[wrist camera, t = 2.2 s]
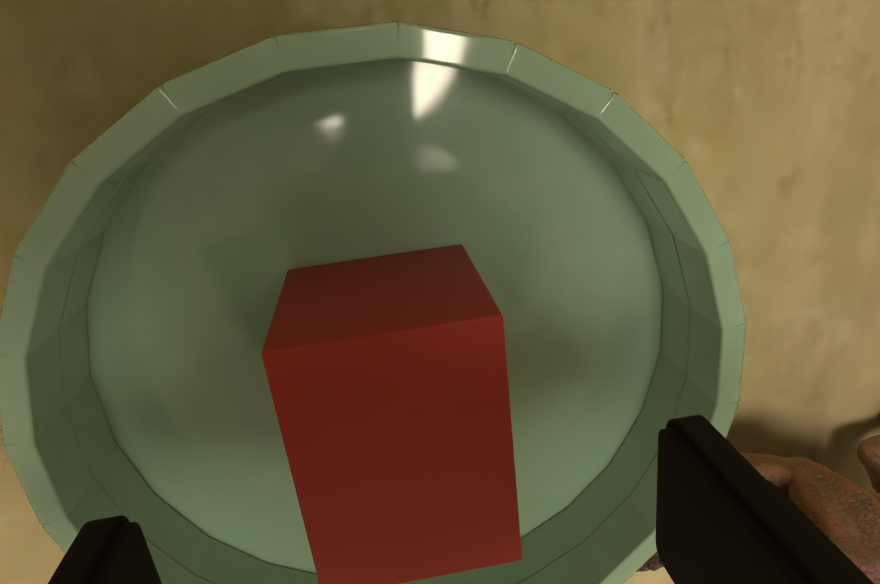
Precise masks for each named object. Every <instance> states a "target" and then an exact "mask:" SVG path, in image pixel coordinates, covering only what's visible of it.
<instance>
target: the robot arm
mask: <svg viewBox="0 0 880 584" xmlns="http://www.w3.org/2000/svg"><path fill="white" fill-rule="evenodd" d="M656 548H657V552H658V555H659V558H660V560H661V562H662V564H663V565H664V567H665V569H666V570H667V572H668V574H669V575H670V577H671V579H672V580H673V582H674V583H675V584H874V583H873V582H872V581H871V580H870V579H869V578H868V577H867V576H866V575H865V574H864V573H863V572H862V571H861V570H860V569H859V568H858V567H857V566H856V565H855V564H854V563H853V562H852V561H851V560H850V559H849V558H848V557H847V556H846V555H845V554H844V553H843V552H842V551H841V550H840V549H839V548H838V547H837V546H836V545H835V544H834V543H833V542H832V541H831V540H830V539H829V538H828V537H827V536H826V535H825V534H824V533H823V532H822V531H821V530H820V529H819V528H818V527H817V526H816V525H815V524H814V523H813V522H812V521H811V520H810V519H809V518H808V517H807V516H806V515H805V514H804V513H803V512H802V511H801V510H800V509H799V508H798V507H797V506H796V505H795V504H794V503H793V502H792V501H791V500H790V499H789V498H788V497H787V496H786V495H785V494H784V493H783V492H782V491H781V490H780V489H779V488H778V487H777V486H776V485H775V484H773V483H772V482H771V481H768V480H766V479H765V478H764V477H763V476H762V475H761V474H760V473H759V472H758V471H757V470H756V469H755V468H754V467H753V466H752V465H751V464H750V463H749V462H748V461H747V460H746V459H745V458H744V457H743V456H742V455H741V454H740V453H739V452H738V451H737V450H736V449H735V448H734V447H733V446H732V445H731V444H730V443H729V442H728V441H727V440H726V439H725V438H724V436H723V435H722V434H721V433H720V432H719V431H718V430H717V429H716V428H715V427H714V426H713V425H712V424H711V423H710V422H709V421H708V420H707V419H706V418H705V417H703V416H702V415H693V416H687V417H681V418H675V419H670V420H669V421H668V422H667V424H666V428H665V429H661V430H660V431H659V434H658V462H657V502H656ZM48 584H162V582H161V580H160V577H159V575H158V572H157V569H156V567H155V564H154V561H153V559H152V556H151V553H150V551H149V548H148V545H147V543H146V540H145V537H144V535H143V532H142V529H141V527H140V525H139V524H138V523H137V522H131V523H130V521H129V519H128V518H127V517H126V516H122V515H120V516H115V517H109V518H103V519H97V520H92V521H88V522H86V523H85V524H84V525H83V526H82V528H81V529H80V531H79V533H78V534H77V536H76V538H75V539H74V541H73V543H72V544H71V546H70V548H69V549H68V551H67V553H66V554H65V556H64V558H63V559H62V561H61V563H60V564H59V566H58V568H57V569H56V571H55V573H54V574H53V576H52V578H51V579H50V581H49V583H48Z"/></svg>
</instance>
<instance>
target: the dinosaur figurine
mask: <svg viewBox="0 0 880 584" xmlns="http://www.w3.org/2000/svg"><path fill="white" fill-rule="evenodd" d="M738 452H739V451H738ZM739 453H740V454H741V455H742V456H743V457H744V458H745V459H746V460H747V461H748V462H749V463H750V464H751V465H752V466H753V467H754V468H755V469H756V470H757V471H758V472H759V473H760V474H761V475H762V476H763V477H764V478H765V479H766V480H768V481H771V482H772V483H773V484H775V485H776V486H777V487H778V488H779V489H780V490H781V491H782V492H783V493H784V494H785V495H786V496H787V497H788V498H789V499H790V500H791V501H792V502H793V503H794V504H795V505H796V506H797V507H798V508H799V509H800V510H801V511H802V512H803V513H804V514H805V515H806V516H807V517H808V518H809V519H810V520H811V521H812V522H813V523H814V524H815V525H816V526H817V527H818V528H819V529H820V530H821V531H822V532H823V533H824V534H825V535H826V536H827V537H828V538H829V539H830V540H831V541H832V542H833V543H834V544H835V545H836V546H837V547H838V548H839V549H840V550H841V551H842V552H843V553H844V554H845V555H846V556H847V557H848V558H849V559H850V560H851V561H852V562H853V563H854V564H855V565H856V566H857V567H858V568H859V569H860V570H861V571H862V572H863V573H864V574H865V575H866V576H867V577H868V578H869V579H870V580H871V581H872V582H873V583H874V584H880V435H877V436H873V437H870V438H868V439H866V440H864V441H862V442H861V443H860V444H859V446H858V450H857V456H858V459H859V460H860V461H861V463H862V464H863V465H864V466H865V468H866V470H867V473H868V475H869V477H870V480H871V483H872V486H873V488H874V489H875V490H876V492H870V491H866V490H865V489H863V488H861V487H860V486H858V485H856V484H854V483H853V482H852V481H849V480H847V479H845V478H844V477H843V476H841V475H839V474H837V473H835V472H834V471H832V470H831V469H829V468H827V467H825V466H823V465H821V464H819V463H816V462H814V461H812V460H809V459H806V458H803V457H780V456H775V455H770V454H754V453H745V452H739ZM661 567H664V565H663V564H662V562H661V560H660V558H659V555H658V552H656V553H655V554H654V555H653V556H652V557H651V558H650V559H649V560H648V561H647V562H646V563H645V564H644V565H643V566H641V567H640V568H639V569H638V570H637V571H636V572H638V571H647V570H652V571H655V570H657V569H659V568H661Z"/></svg>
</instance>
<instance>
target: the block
mask: <svg viewBox="0 0 880 584" xmlns="http://www.w3.org/2000/svg"><path fill="white" fill-rule="evenodd" d="M261 356H262V360H263V364H264V368H265V372H266V375H267V379H268V383H269V387H270V391H271V395H272V399H273V403H274V407H275V411H276V415H277V419H278V423H279V427H280V431H281V435H282V439H283V443H284V447H285V451H286V454H287V458H288V462H289V466H290V470H291V474H292V478H293V482H294V486H295V490H296V494H297V498H298V502H299V506H300V510H301V514H302V518H303V522H304V526H305V529H306V533H307V537H308V541H309V545H310V549H311V553H312V557H313V561H314V565H315V569H316V573H317V577H318V581H319V584H401V583H407V582H412V581H417V580H422V579H428V578H433V577H438V576H443V575H448V574H454V573H459V572H464V571H469V570H475V569H480V568H485V567H490V566H495V565H501V564H506V563H511V562H516V561H520V560H521V559H522V550H521V537H520V525H519V512H518V499H517V486H516V473H515V461H514V448H513V435H512V422H511V409H510V397H509V384H508V371H507V358H506V346H505V333H504V320H503V315H502V313H501V311H500V310H499V308H498V306H497V304H496V303H495V301H494V299H493V297H492V296H491V294H490V292H489V290H488V289H487V287H486V285H485V283H484V282H483V280H482V278H481V276H480V275H479V273H478V271H477V269H476V268H475V266H474V264H473V262H472V261H471V259H470V257H469V255H468V253H467V252H466V250H465V248H464V246H463V245H461V244H460V245H454V246H447V247H440V248H433V249H426V250H420V251H413V252H406V253H399V254H392V255H386V256H379V257H372V258H365V259H358V260H352V261H345V262H338V263H331V264H324V265H318V266H311V267H304V268H297V269H291V270H288V271H287V274H286V277H285V280H284V283H283V286H282V290H281V293H280V296H279V299H278V302H277V305H276V308H275V312H274V315H273V318H272V321H271V324H270V327H269V330H268V334H267V337H266V340H265V343H264V346H263V349H262V353H261Z"/></svg>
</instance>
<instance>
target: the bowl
mask: <svg viewBox="0 0 880 584" xmlns="http://www.w3.org/2000/svg"><path fill="white" fill-rule="evenodd" d="M728 240H729V238H728V236H727V234H726V232H725V230H724V228H723V227H722V225H721V223H720V221H719V219H718V217H717V216H716V214H715V212H714V210H713V208H712V206H711V205H710V203H709V201H708V199H707V197H706V195H705V194H704V192H703V190H702V188H701V186H700V185H699V183H698V181H697V179H696V177H695V175H694V174H693V172H692V170H691V168H690V166H689V164H688V163H687V162H686V161H685V159H684V157H683V156H682V155H681V154H680V153H679V152H677V151H676V150H675V149H674V148H673V147H672V146H671V145H670V144H669V143H668V142H667V141H666V140H665V139H664V138H663V137H662V136H661V135H660V134H659V133H658V132H657V131H656V130H654V129H653V128H652V127H651V126H650V125H649V124H648V123H647V122H646V121H645V120H644V119H643V118H642V117H641V116H640V115H639V114H638V113H637V112H636V111H635V110H634V109H633V108H632V107H630V106H629V105H628V104H627V103H626V102H625V101H624V100H623V99H622V98H621V97H620V96H619V95H618V94H617V93H615V92H612V90H611V89H610V88H608V87H606V86H604V85H602V84H600V83H598V82H596V81H594V80H592V79H590V78H588V77H586V76H584V75H582V74H580V73H578V72H576V71H574V70H572V69H570V68H568V67H566V66H564V65H562V64H560V63H558V62H556V61H554V60H552V59H550V58H548V57H546V56H544V55H542V54H540V53H538V52H536V51H534V50H532V49H530V48H528V47H526V46H524V45H522V44H520V43H514V42H512V41H511V40H505V39H499V38H493V37H488V36H482V35H476V34H470V33H464V32H459V31H453V30H447V29H441V28H435V27H430V26H424V25H418V24H412V23H406V22H399V23H398V24H397V23H396V22H385V23H376V24H368V25H359V26H350V27H342V28H333V29H325V30H316V31H307V32H299V33H290V34H281V35H278V36H276V37H269V38H267V39H264V40H262V41H260V42H257V43H255V44H253V45H250V46H248V47H246V48H243V49H241V50H239V51H236V52H234V53H232V54H229V55H227V56H225V57H222V58H220V59H218V60H215V61H213V62H211V63H208V64H206V65H204V66H201V67H199V68H197V69H194V70H192V71H190V72H187V73H185V74H183V75H180V76H178V77H176V78H173V79H171V80H169V81H166V82H164V83H163V84H162V86H158V87H156V88H155V89H154V90H153V91H152V92H151V93H149V94H148V95H147V96H146V97H145V98H144V99H142V100H141V101H140V102H139V103H138V104H136V105H135V106H134V107H133V108H132V109H131V110H129V111H128V112H127V113H126V114H125V115H124V116H122V117H121V118H120V119H119V120H118V121H117V122H115V123H114V124H113V125H112V126H111V127H109V128H108V129H107V130H106V131H105V132H104V133H102V134H101V135H100V136H99V137H98V138H97V139H95V140H94V141H93V142H92V143H91V144H90V145H88V146H87V147H86V148H85V149H84V150H82V151H81V152H80V153H79V154H78V155H77V156H75V157H74V159H73V161H72V162H70V163H69V164H68V165H67V167H66V169H65V170H64V172H63V174H62V175H61V177H60V178H59V180H58V182H57V183H56V185H55V187H54V188H53V190H52V192H51V193H50V195H49V196H48V198H47V200H46V201H45V203H44V205H43V206H42V208H41V210H40V211H39V213H38V215H37V216H36V218H35V219H34V221H33V223H32V224H31V226H30V228H29V229H28V231H27V233H26V234H25V236H24V238H23V239H22V241H21V242H20V244H19V246H18V247H17V249H16V251H15V256H14V257H13V261H12V265H11V270H10V274H9V279H8V284H7V288H6V293H5V297H4V302H3V307H2V311H1V316H0V419H1V427H2V436H3V443H4V444H5V446H4V448H5V450H6V452H7V454H8V456H9V459H10V461H11V463H12V465H13V467H14V469H15V471H16V474H17V476H18V478H19V480H20V482H21V484H22V486H23V489H24V491H25V493H26V495H27V497H28V499H29V501H30V504H31V506H32V508H33V510H34V512H35V514H36V516H37V518H38V521H39V523H40V524H41V525H42V527H43V528H44V530H45V531H46V532H47V533H48V534H49V535H50V536H51V538H52V539H53V540H54V541H55V542H56V543H57V544H58V545H59V547H60V548H61V549H62V550H63V551H64V552H65V553H67V551H68V549H69V548H70V546H71V544H72V543H73V541H74V539H75V538H76V536H77V534H78V533H79V531H80V529H81V528H82V526H83V525H84V524H85V523H86V522H88V521H92V520H97V519H103V518H109V517H115V516H120V515H122V516H126V517H127V518H128V519H129V521H130V523H131V522H137V523H138V524H139V525H140V527H141V529H142V532H143V535H144V537H145V540H146V543H147V545H148V548H149V551H150V553H151V556H152V559H153V561H154V564H155V567H156V569H157V572H158V575H159V577H160V580H161V582H162V584H319V581H318V577H317V573H316V569H315V565H314V561H313V557H312V553H311V549H310V545H309V541H308V537H307V533H306V529H305V526H304V522H303V518H302V514H301V510H300V506H299V502H298V498H297V494H296V490H295V486H294V482H293V478H292V474H291V470H290V466H289V462H288V458H287V454H286V451H285V447H284V443H283V439H282V435H281V431H280V427H279V423H278V419H277V415H276V411H275V407H274V403H273V399H272V395H271V391H270V387H269V383H268V379H267V375H266V372H265V368H264V364H263V360H262V356H261V353H262V349H263V346H264V343H265V340H266V337H267V334H268V330H269V327H270V324H271V321H272V318H273V315H274V312H275V308H276V305H277V302H278V299H279V296H280V293H281V290H282V286H283V283H284V280H285V277H286V274H287V271H288V270H291V269H297V268H304V267H311V266H318V265H324V264H331V263H338V262H345V261H352V260H358V259H365V258H372V257H379V256H386V255H392V254H399V253H406V252H413V251H420V250H426V249H433V248H440V247H447V246H454V245H460V244H461V245H463V246H464V248H465V250H466V252H467V253H468V255H469V257H470V259H471V261H472V262H473V264H474V266H475V268H476V269H477V271H478V273H479V275H480V276H481V278H482V280H483V282H484V283H485V285H486V287H487V289H488V290H489V292H490V294H491V296H492V297H493V299H494V301H495V303H496V304H497V306H498V308H499V310H500V311H501V313H502V315H503V320H504V333H505V346H506V358H507V371H508V384H509V397H510V409H511V422H512V435H513V448H514V461H515V473H516V486H517V499H518V512H519V525H520V537H521V550H522V559H521V560H520V561H516V562H511V563H506V564H501V565H495V566H490V567H485V568H480V569H475V570H469V571H464V572H459V573H454V574H448V575H443V576H438V577H433V578H428V579H422V580H417V581H412V582H407V583H401V584H624V583H625V582H626V581H627V580H628V579H629V578H630V577H631V576H632V575H633V574H634V573H635V572H636V571H637V570H638V569H639V568H640V567H641V566H643V565H644V564H645V563H646V562H647V561H648V560H649V559H650V558H651V557H652V556H653V555H654V554H655V553H656V552H657V548H656V502H657V462H658V434H659V431H660V430H661V429H665V428H666V424H667V422H668V421H669V420H670V419H675V418H681V417H687V416H693V415H702V416H703V417H705V418H706V419H707V420H708V421H709V422H710V423H711V424H712V425H713V426H714V427H715V428H716V429H717V430H718V431H719V432H720V433H721V434H722V435H723V436H724V438H725V439H726V437H727V435H728V432H729V429H730V427H731V424H732V421H733V418H734V416H735V413H736V410H737V408H738V402H739V399H740V389H741V378H742V367H743V356H744V345H745V334H746V324H745V322H746V318H745V313H744V308H743V303H742V298H741V293H740V288H739V283H738V278H737V273H736V268H735V263H734V258H733V253H732V248H731V243H730V242H729V241H728Z"/></svg>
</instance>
